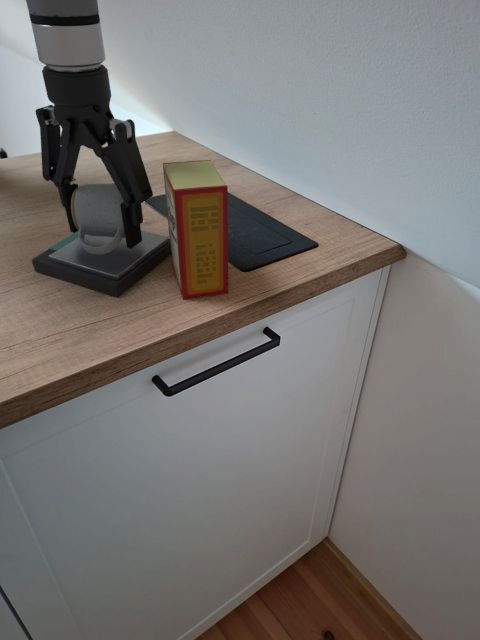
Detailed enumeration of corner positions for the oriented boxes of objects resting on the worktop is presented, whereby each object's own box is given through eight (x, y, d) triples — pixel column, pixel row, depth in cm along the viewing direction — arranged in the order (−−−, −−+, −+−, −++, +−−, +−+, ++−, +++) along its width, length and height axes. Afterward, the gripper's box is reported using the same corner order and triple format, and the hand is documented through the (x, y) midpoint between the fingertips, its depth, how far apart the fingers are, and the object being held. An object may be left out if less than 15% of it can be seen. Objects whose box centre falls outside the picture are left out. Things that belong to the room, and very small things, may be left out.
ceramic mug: (90, 221, 76) (79, 172, 71) (142, 223, 77) (135, 175, 71) (68, 256, 68) (55, 204, 63) (126, 258, 69) (118, 206, 63)
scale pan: (49, 260, 71) (48, 255, 71) (106, 225, 80) (105, 220, 80) (117, 281, 68) (116, 276, 67) (168, 241, 77) (168, 237, 76)
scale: (34, 271, 72) (30, 258, 71) (100, 230, 83) (97, 218, 82) (118, 297, 68) (115, 284, 67) (175, 251, 79) (174, 238, 77)
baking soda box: (172, 265, 75) (162, 160, 65) (213, 260, 77) (210, 157, 66) (183, 299, 68) (174, 187, 58) (228, 293, 70) (227, 183, 60)
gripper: (170, 70, 58) (183, 242, 72) (26, 49, 64) (64, 211, 78) (132, 82, 52) (154, 265, 67) (-21, 58, 59) (29, 230, 73)
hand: (106, 236), depth 73 cm, fingers closed on ceramic mug, 9 cm apart
